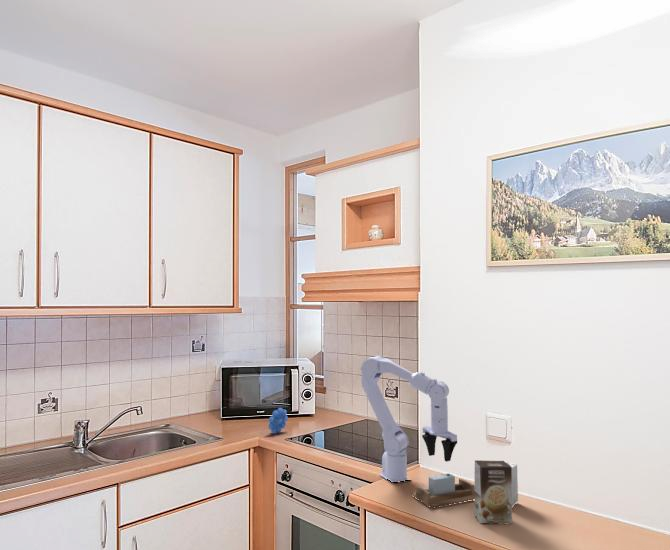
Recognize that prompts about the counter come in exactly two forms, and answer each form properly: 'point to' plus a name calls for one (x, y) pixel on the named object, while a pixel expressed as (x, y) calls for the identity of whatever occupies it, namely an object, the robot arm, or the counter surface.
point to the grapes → (278, 420)
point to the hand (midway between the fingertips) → (439, 458)
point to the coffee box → (493, 492)
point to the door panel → (441, 484)
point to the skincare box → (514, 483)
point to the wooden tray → (447, 495)
